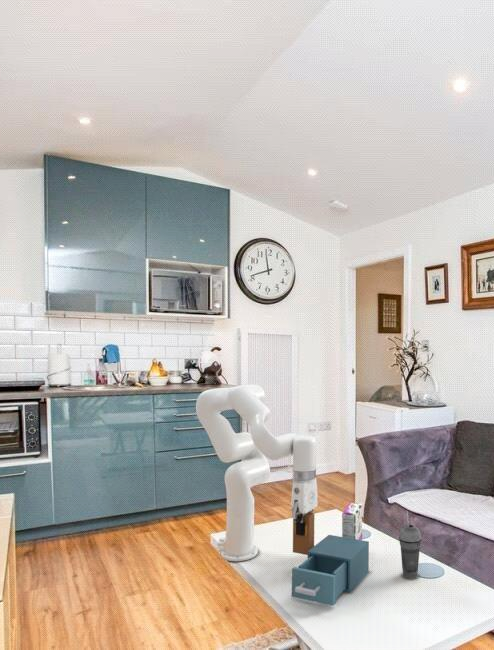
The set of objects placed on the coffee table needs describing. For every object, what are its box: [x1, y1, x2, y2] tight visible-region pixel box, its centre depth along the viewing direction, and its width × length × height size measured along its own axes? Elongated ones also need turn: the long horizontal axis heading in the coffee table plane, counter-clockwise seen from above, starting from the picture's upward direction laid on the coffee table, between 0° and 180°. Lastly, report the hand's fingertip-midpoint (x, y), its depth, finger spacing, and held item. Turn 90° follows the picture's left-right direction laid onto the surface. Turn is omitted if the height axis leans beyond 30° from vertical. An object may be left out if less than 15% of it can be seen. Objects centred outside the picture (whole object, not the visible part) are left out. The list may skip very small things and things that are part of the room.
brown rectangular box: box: [292, 510, 315, 556], centre depth 159 cm, size 4×6×12 cm, turn 68°
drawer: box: [291, 555, 348, 607], centre depth 143 cm, size 18×13×8 cm
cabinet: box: [307, 534, 370, 594], centre depth 155 cm, size 15×15×10 cm
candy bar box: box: [341, 502, 363, 540], centre depth 171 cm, size 11×5×16 cm, turn 168°
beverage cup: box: [398, 510, 422, 580], centre depth 157 cm, size 7×7×20 cm
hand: (303, 531), depth 159 cm, fingers closed on brown rectangular box, 3 cm apart
